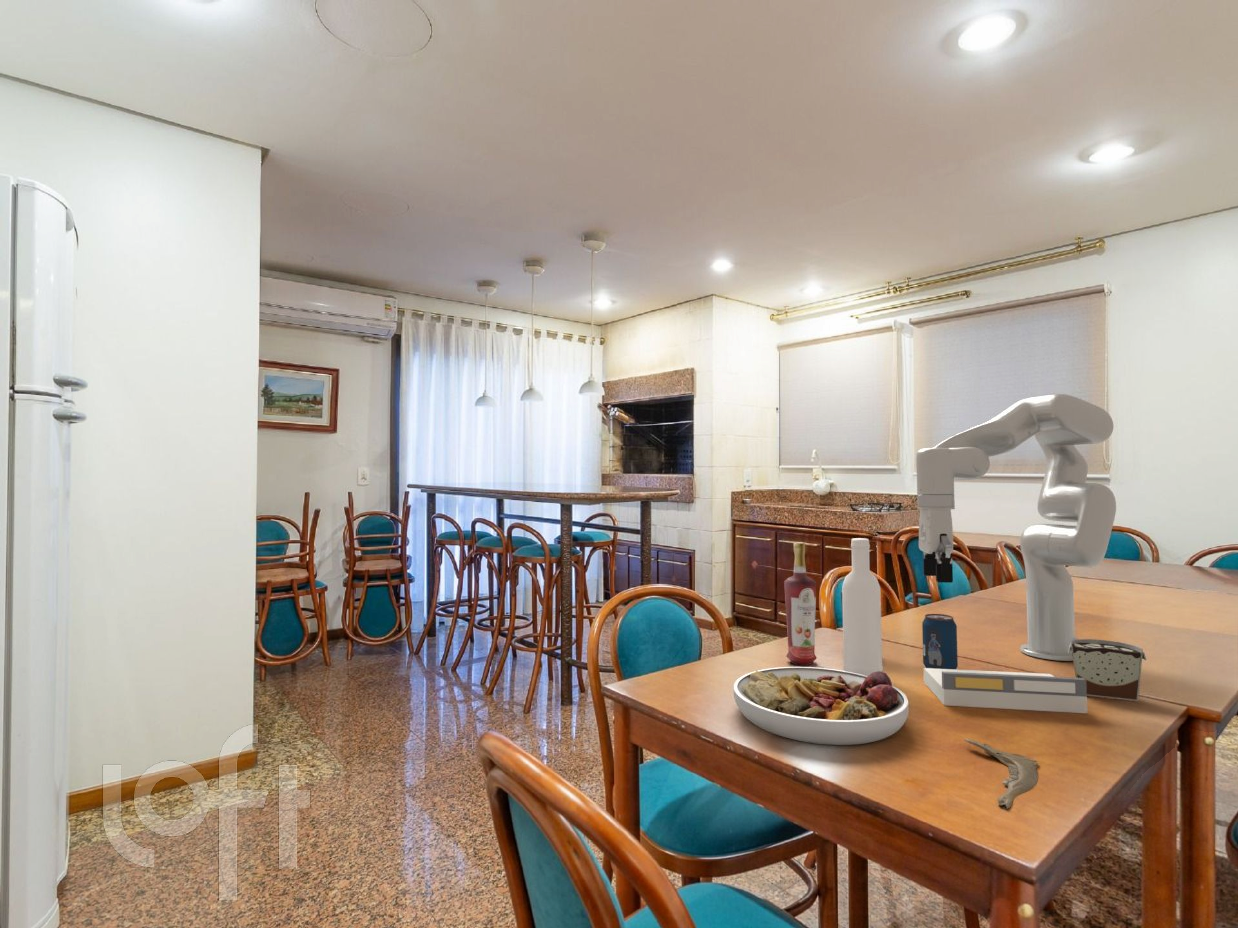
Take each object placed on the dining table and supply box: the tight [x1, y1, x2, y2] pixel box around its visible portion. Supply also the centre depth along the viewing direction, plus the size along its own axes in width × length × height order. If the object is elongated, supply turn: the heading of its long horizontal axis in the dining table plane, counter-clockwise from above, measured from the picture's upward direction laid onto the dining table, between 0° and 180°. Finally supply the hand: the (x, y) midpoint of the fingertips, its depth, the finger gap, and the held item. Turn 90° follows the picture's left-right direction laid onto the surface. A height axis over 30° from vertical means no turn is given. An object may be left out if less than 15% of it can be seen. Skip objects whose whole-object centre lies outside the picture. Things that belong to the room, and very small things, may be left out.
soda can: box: [921, 613, 959, 670], centre depth 142 cm, size 7×7×12 cm
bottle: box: [841, 537, 884, 676], centre depth 137 cm, size 8×8×30 cm
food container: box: [1068, 638, 1147, 702], centre depth 126 cm, size 12×6×10 cm, turn 65°
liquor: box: [783, 542, 817, 666], centre depth 149 cm, size 7×7×28 cm
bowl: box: [733, 666, 910, 746], centre depth 114 cm, size 30×30×8 cm
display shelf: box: [923, 667, 1088, 714], centre depth 124 cm, size 24×14×6 cm, turn 79°
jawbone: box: [964, 737, 1040, 810], centre depth 90 cm, size 9×20×2 cm, turn 163°
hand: (937, 578), depth 142 cm, fingers open, 9 cm apart
